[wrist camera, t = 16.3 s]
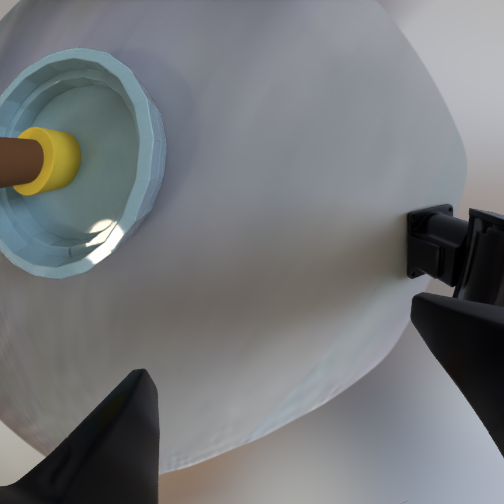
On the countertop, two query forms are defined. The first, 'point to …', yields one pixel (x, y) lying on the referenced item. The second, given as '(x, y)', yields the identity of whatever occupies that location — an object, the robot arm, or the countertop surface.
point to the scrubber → (39, 161)
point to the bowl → (82, 162)
